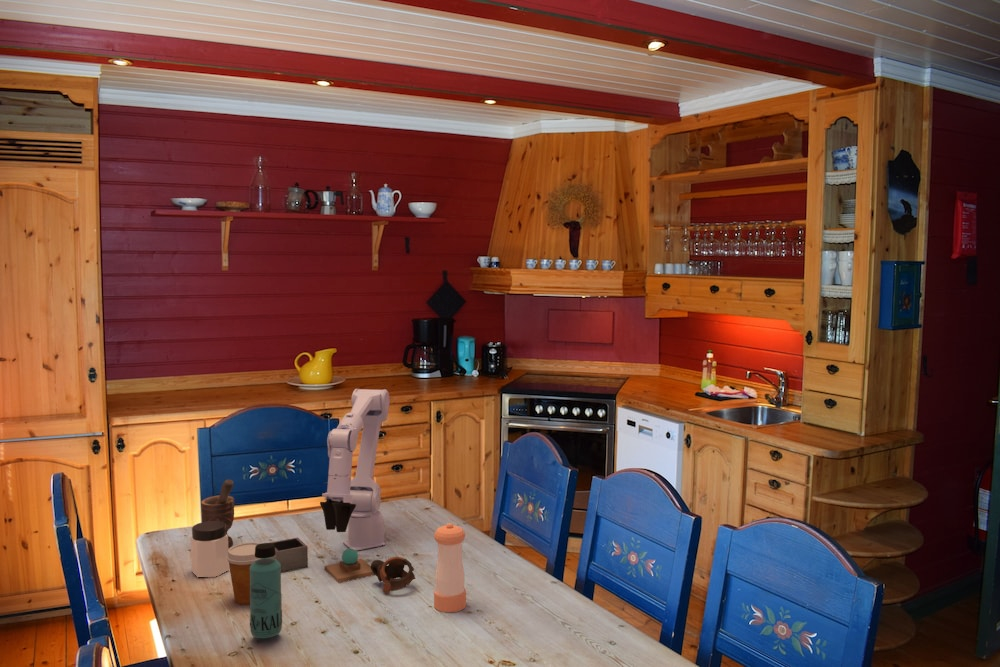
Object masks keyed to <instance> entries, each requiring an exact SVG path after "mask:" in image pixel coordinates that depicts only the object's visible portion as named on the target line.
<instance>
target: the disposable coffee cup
mask: <svg viewBox="0 0 1000 667" xmlns="http://www.w3.org/2000/svg"><path fill="white" fill-rule="evenodd" d="M262 543H263V542H244V543H239V544H236V545H232V546H231V547H229V548H228V554H227V556H226V558H227V560H228V562H229V571H230V572H229V573H230V579H231V585H232V591H233V597H234V603H236V604H239V605H243V606H244V605H249V604H250V603H249V601H250V566H251V565H252V564H253V563H254V562H255V561H256V560H258V559H261V558H256V557H255V547H256V545H258V544H262Z"/></svg>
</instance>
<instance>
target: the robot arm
mask: <svg viewBox="0 0 1000 667" xmlns="http://www.w3.org/2000/svg"><path fill="white" fill-rule="evenodd" d="M350 399H351V406H352V407H351V409H350V412H347V413H345V415H344V416H343V417H342V419H341V420H340V422H339V423H338V425H337V427H336V428H333V429H332V430H330V431H329V432H328V435H327V438H326V439H327V440H326V442H327V444H326V445H327V457H328V458H329V461H328V463H329V464H328V475H327V476H328V477H327V487H326V488H327V489H326V492H325V493H323V492H322V495H321V496H322V497H324V501H320V503H319V504H320V507H321V509H322V511H323V512H322V513H323V517H324V523H325V530H328V531H330V530H332V531H335V530H336V533H346V532H348V538H347V540H344V541H343V544H344V545H345V546H347V547H348V549H354V550H355V551H356V552H358V551H361V550H368V549H373V548H377V547H382V545H383V546H385V545H386V543H385V522H384V521H385V520H384V516H383V514H382V512H381V511H379V510H380V508H381V504H382V503H381V502H382V501H381V500H382V499H381V498H382V497H381V492H382V490H381V489H382V488H381V486H380V485H379V484H378V483H377V482H376V481H375V480H374V479H373V476H374V469H375V463H376V457H377V451H378V450H377V449H378V443H379V437H380V431H381V426H382V423H383V422H385V421H387V420H388V415H389V409H390V404H391V401H390V393H389V391H388V390H387V389H385V388H384V389H368V388H367V389H363V388H362V389H361V388H355V389H354V390H353V392H352V394H351V398H350ZM361 431H362V433H361V438H360V446H359V452H358V458H357V463H356V464H357V465H356V472H355V477H353V478H352V466H353V457H354V456H353V452H355V450H357V445H358V444H357V443H358V441H359V434H360V432H361ZM347 529H348V531H347Z"/></svg>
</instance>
